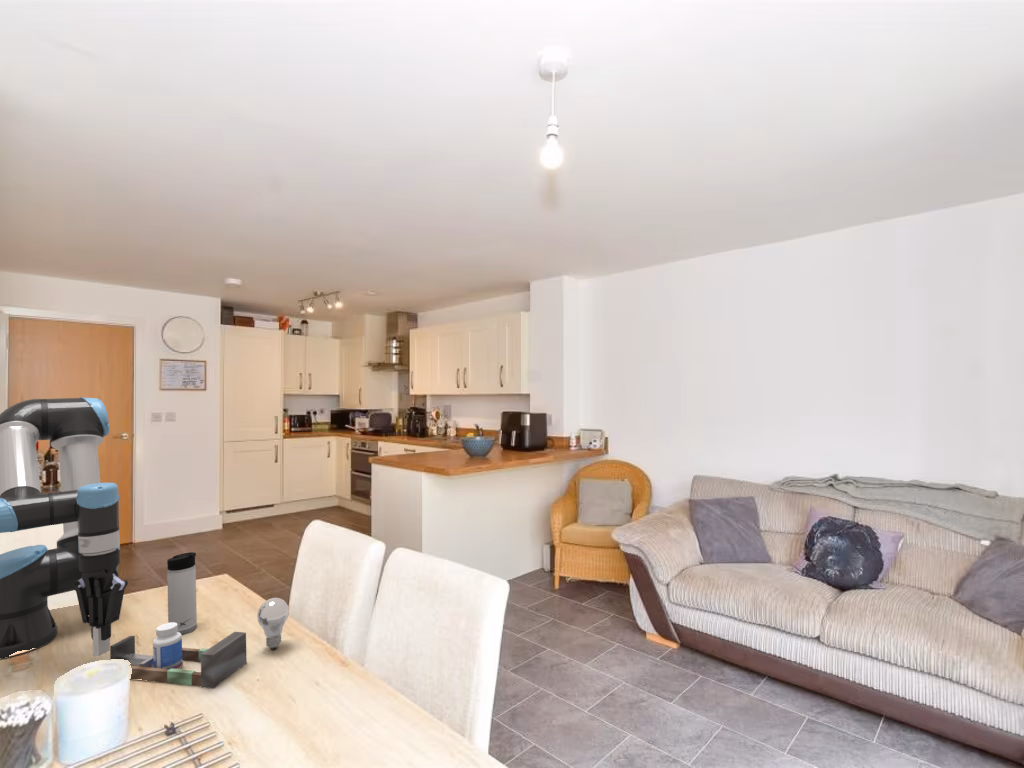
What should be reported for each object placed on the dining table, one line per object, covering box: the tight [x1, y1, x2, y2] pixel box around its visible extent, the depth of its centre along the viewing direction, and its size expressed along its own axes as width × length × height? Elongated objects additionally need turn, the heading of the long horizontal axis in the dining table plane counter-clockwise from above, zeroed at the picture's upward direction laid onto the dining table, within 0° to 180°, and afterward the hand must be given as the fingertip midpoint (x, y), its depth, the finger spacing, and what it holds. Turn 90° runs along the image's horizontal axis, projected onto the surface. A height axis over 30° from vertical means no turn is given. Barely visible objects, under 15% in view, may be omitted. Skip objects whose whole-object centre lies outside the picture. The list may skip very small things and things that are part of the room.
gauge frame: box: [130, 631, 248, 689], centre depth 116 cm, size 23×10×7 cm, turn 79°
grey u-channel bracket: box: [109, 635, 154, 668], centre depth 118 cm, size 9×6×5 cm, turn 79°
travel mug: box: [166, 551, 198, 636], centre depth 136 cm, size 6×7×20 cm
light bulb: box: [256, 597, 290, 650], centre depth 125 cm, size 7×7×12 cm
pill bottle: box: [152, 622, 184, 669], centre depth 117 cm, size 6×5×10 cm
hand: (101, 653), depth 120 cm, fingers closed
